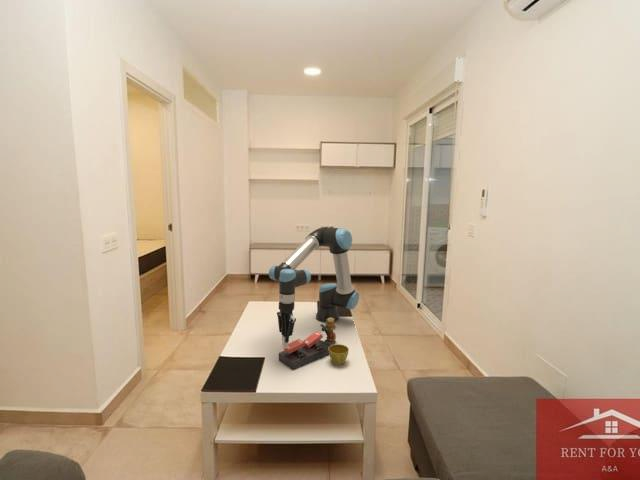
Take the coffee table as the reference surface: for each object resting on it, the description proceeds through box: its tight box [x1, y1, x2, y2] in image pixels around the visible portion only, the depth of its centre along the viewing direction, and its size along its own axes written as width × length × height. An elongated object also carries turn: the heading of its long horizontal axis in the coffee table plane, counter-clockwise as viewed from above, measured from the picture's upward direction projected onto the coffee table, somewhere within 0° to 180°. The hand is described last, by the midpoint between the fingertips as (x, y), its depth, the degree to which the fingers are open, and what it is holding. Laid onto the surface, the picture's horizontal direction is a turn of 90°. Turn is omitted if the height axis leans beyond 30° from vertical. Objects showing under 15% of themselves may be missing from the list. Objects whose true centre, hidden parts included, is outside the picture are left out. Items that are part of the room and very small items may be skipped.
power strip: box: [278, 339, 331, 371], centre depth 174 cm, size 26×12×6 cm, turn 131°
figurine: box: [319, 318, 338, 345], centre depth 190 cm, size 9×8×15 cm
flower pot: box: [328, 343, 350, 366], centre depth 170 cm, size 10×10×7 cm
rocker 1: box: [282, 338, 305, 354], centre depth 172 cm, size 10×5×2 cm, turn 131°
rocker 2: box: [303, 330, 324, 348], centre depth 179 cm, size 10×5×2 cm, turn 131°
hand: (285, 347), depth 168 cm, fingers closed
